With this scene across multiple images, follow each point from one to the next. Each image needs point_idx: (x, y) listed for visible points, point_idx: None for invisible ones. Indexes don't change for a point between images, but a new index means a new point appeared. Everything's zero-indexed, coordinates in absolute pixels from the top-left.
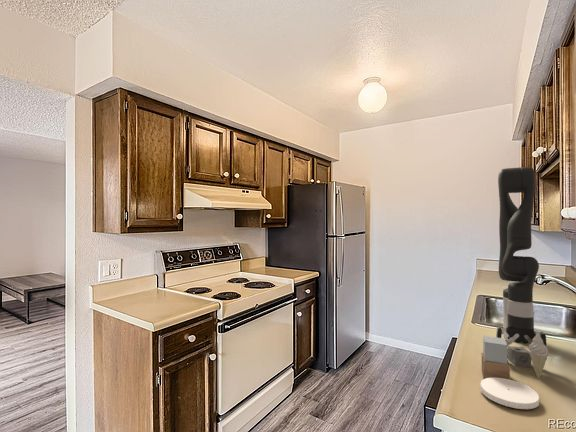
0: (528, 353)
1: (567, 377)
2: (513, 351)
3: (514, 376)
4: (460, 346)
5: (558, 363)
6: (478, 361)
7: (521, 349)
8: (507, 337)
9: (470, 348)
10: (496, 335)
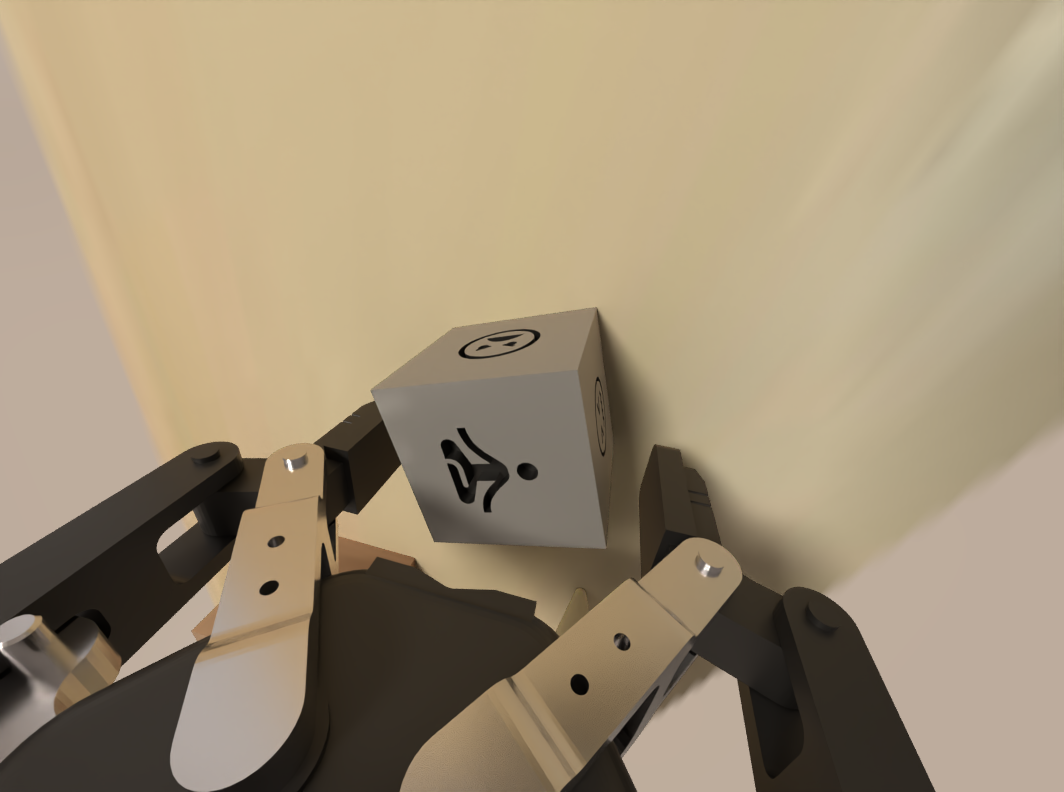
0: (574, 537)
1: (821, 570)
2: (426, 502)
3: (452, 573)
4: (26, 69)
5: (1055, 274)
6: (259, 415)
7: (522, 461)
8: (244, 547)
9: (117, 98)
10: (81, 520)
